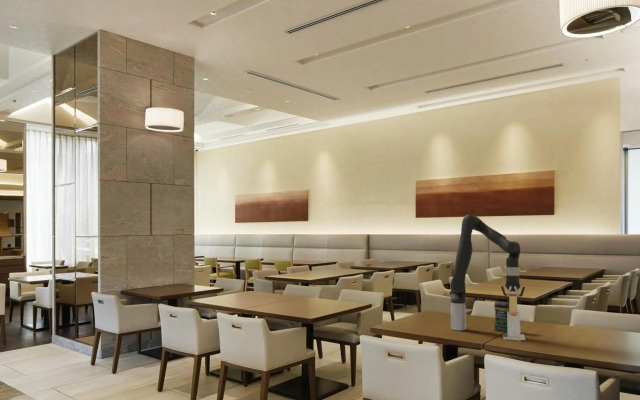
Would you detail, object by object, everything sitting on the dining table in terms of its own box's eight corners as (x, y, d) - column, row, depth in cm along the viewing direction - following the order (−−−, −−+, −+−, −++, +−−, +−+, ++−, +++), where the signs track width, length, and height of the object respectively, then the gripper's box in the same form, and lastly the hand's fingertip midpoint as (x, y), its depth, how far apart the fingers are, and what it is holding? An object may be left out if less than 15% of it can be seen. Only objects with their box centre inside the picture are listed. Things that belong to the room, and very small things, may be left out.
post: (510, 329, 286) (509, 294, 287) (509, 328, 290) (509, 293, 291) (517, 330, 285) (516, 294, 286) (517, 328, 289) (516, 294, 290)
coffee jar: (492, 330, 307) (492, 301, 308) (497, 329, 313) (496, 300, 314) (508, 333, 301) (507, 303, 302) (512, 331, 307) (511, 301, 308)
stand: (503, 339, 283) (502, 313, 284) (503, 335, 295) (502, 310, 296) (525, 340, 279) (524, 314, 280) (524, 336, 291) (523, 311, 292)
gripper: (500, 274, 288) (500, 303, 287) (525, 275, 283) (526, 304, 282) (499, 273, 295) (500, 301, 294) (524, 274, 291) (525, 302, 289)
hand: (513, 303), depth 288 cm, fingers closed on post, 4 cm apart
